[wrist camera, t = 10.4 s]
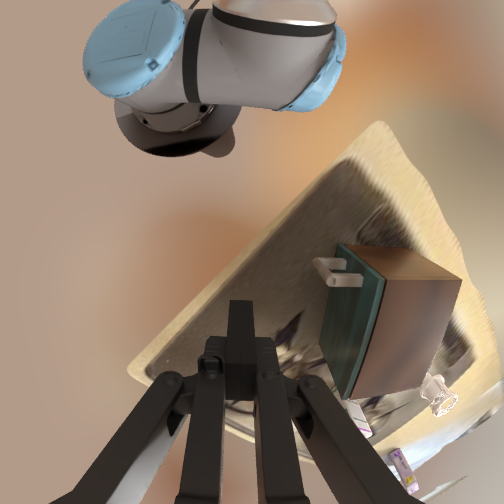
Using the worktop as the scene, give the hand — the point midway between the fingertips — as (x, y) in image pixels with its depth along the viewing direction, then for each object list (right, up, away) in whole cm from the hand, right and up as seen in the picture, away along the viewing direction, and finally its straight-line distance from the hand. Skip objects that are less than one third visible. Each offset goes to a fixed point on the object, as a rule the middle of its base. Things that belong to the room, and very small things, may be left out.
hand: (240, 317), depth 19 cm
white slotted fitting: (+44, -26, +37) cm, 64 cm away
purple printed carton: (+56, -73, +52) cm, 106 cm away
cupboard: (+23, -4, +29) cm, 37 cm away
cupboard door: (+12, -4, +29) cm, 32 cm away
